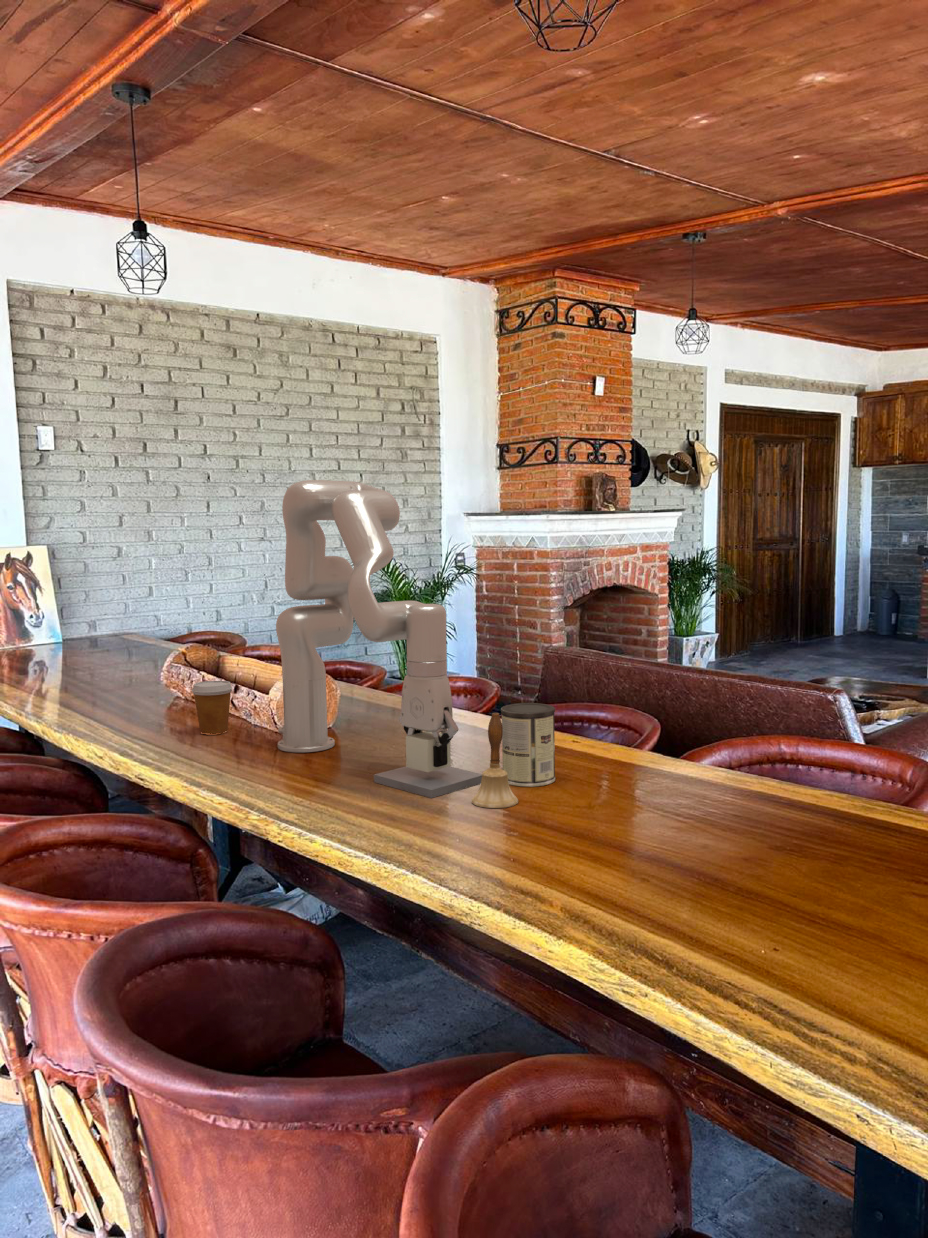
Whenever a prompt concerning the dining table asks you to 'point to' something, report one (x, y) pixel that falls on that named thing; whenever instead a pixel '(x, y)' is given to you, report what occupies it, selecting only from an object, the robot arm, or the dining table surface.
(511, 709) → the coffee can
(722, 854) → the dining table surface
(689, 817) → the dining table surface
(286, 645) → the robot arm
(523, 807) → the dining table surface
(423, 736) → the cube
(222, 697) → the disposable coffee cup
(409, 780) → the slate board
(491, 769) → the hand bell
